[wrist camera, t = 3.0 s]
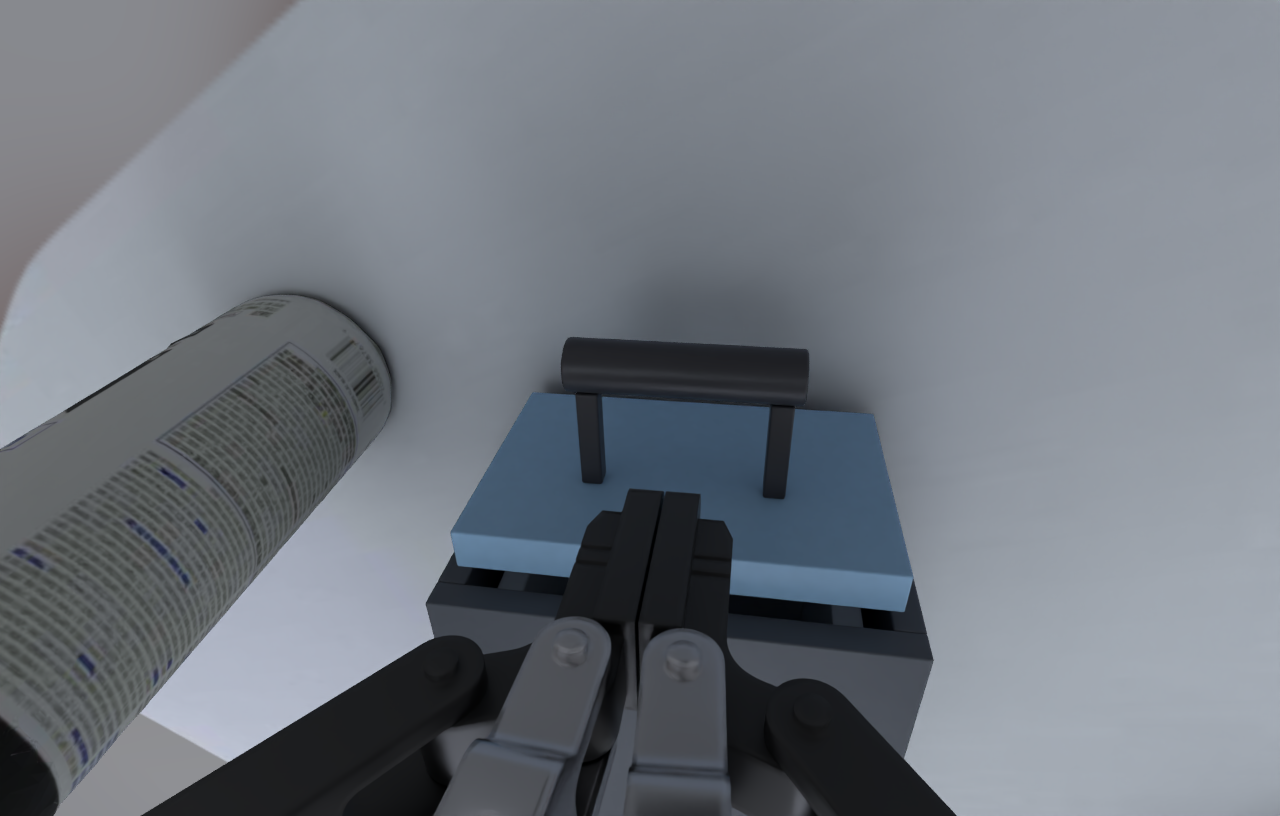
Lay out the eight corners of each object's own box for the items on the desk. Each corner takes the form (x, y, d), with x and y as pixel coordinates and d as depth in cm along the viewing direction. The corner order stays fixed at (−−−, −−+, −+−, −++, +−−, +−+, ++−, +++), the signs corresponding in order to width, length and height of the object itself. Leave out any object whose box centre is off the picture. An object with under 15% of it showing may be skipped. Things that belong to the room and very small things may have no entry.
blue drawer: (518, 272, 22) (417, 386, 15) (896, 286, 20) (954, 420, 14) (562, 652, 31) (511, 819, 25) (823, 684, 29) (838, 871, 23)
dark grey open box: (528, 418, 25) (424, 603, 18) (881, 442, 24) (934, 660, 16) (559, 675, 33) (496, 882, 25) (828, 709, 31) (848, 943, 24)
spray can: (237, 254, 24) (-1045, 899, 7) (420, 337, 24) (-357, 1117, 8) (224, 400, 27) (-648, 1059, 11) (383, 469, 28) (-202, 1200, 11)
